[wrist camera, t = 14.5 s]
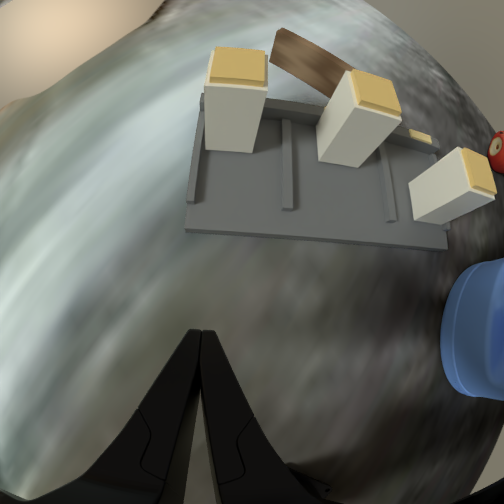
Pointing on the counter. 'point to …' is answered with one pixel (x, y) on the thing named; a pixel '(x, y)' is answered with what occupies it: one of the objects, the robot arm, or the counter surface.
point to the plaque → (308, 61)
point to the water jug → (475, 331)
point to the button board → (310, 186)
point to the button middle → (357, 119)
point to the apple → (497, 152)
